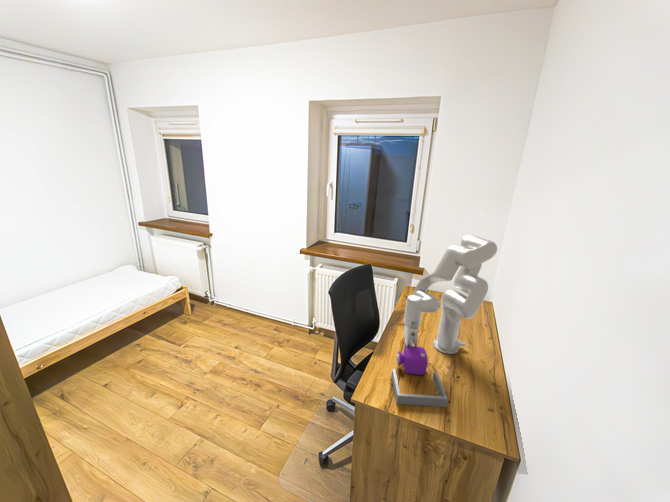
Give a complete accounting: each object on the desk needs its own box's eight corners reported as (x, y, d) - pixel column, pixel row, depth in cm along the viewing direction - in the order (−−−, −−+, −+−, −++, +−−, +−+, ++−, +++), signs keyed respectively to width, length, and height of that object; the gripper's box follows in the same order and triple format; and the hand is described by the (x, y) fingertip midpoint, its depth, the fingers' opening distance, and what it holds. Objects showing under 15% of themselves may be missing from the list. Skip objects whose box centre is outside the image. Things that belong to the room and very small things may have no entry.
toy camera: (392, 360, 137) (395, 343, 134) (420, 360, 138) (423, 343, 135) (399, 377, 126) (401, 358, 124) (429, 376, 127) (432, 357, 124)
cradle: (435, 379, 126) (436, 371, 125) (446, 407, 111) (448, 399, 110) (391, 376, 127) (392, 368, 125) (396, 403, 112) (397, 395, 111)
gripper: (423, 330, 127) (418, 365, 132) (416, 313, 141) (412, 345, 146) (406, 329, 127) (401, 363, 132) (401, 312, 141) (397, 344, 147)
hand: (407, 354), depth 139 cm, fingers closed
